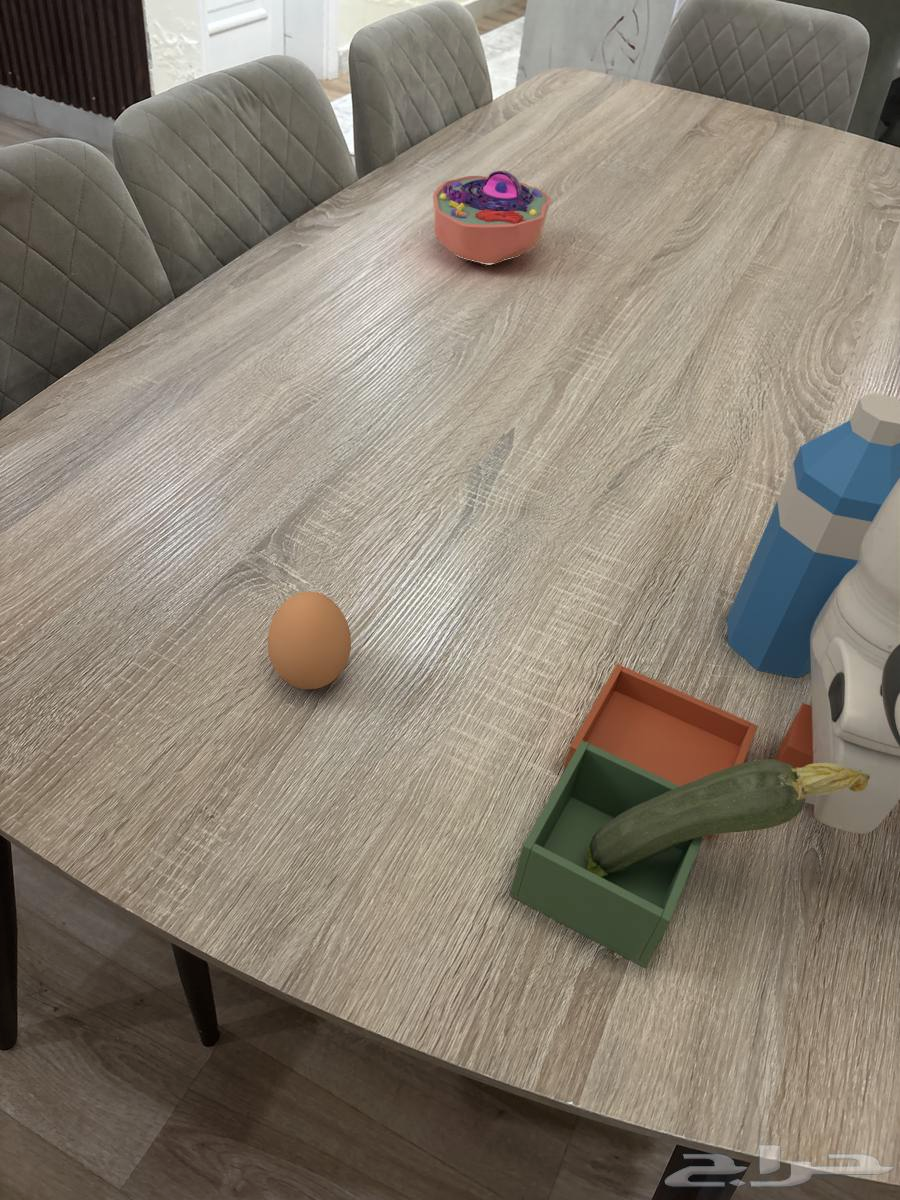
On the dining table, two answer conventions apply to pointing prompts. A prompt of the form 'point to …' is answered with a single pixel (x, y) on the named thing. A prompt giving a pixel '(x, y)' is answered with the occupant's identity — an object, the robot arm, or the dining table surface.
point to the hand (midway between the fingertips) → (811, 762)
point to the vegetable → (715, 809)
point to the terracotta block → (798, 740)
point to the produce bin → (558, 861)
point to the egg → (309, 640)
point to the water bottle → (815, 536)
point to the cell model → (489, 216)
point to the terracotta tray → (663, 729)
